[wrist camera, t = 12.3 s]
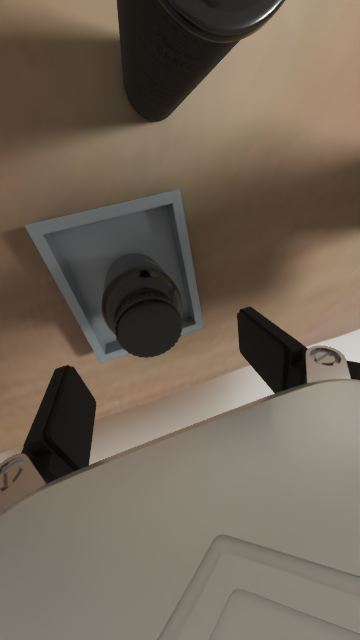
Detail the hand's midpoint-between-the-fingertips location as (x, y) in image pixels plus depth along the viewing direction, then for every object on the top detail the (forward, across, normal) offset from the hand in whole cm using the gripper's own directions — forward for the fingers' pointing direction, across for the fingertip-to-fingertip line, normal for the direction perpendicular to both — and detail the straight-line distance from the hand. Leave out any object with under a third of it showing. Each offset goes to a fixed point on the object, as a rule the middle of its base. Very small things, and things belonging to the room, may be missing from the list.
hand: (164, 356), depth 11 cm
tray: (+16, +1, 0) cm, 16 cm away
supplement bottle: (+15, +1, 0) cm, 15 cm away
